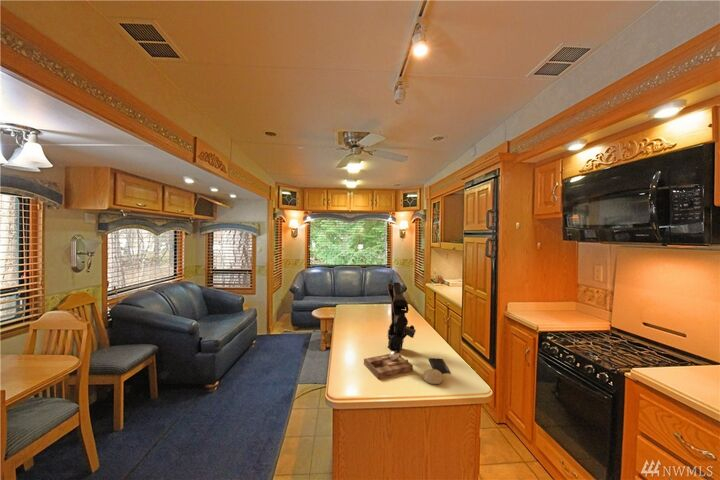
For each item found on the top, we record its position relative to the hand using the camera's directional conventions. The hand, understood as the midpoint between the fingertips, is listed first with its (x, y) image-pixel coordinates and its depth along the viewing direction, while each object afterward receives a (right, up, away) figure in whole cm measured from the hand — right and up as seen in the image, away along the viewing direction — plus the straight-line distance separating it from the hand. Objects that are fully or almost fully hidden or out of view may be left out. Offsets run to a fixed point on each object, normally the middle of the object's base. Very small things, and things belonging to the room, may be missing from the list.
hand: (399, 350), depth 147 cm
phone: (+20, -8, -3) cm, 22 cm away
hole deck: (-7, -7, -6) cm, 11 cm away
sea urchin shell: (+13, -8, -17) cm, 23 cm away
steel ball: (-4, -1, -4) cm, 6 cm away
